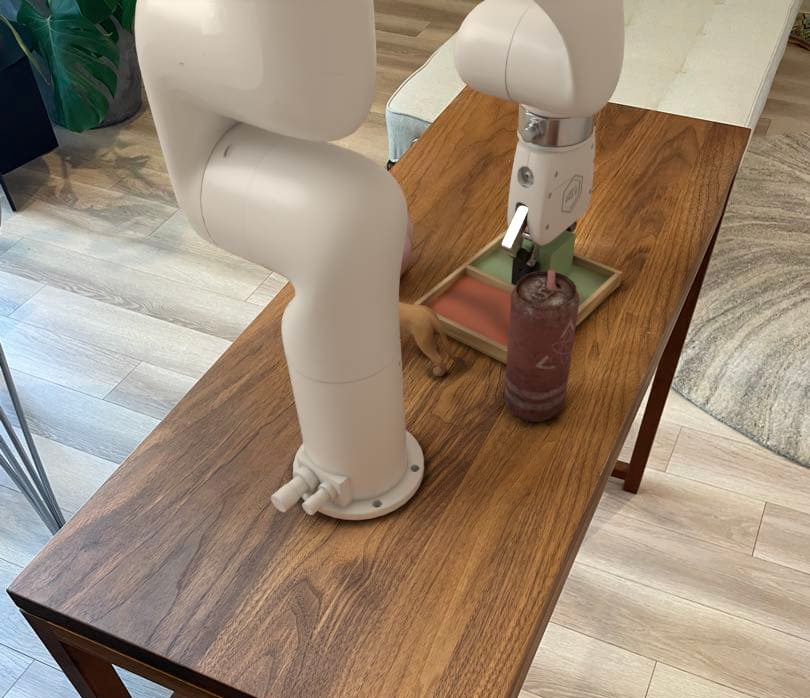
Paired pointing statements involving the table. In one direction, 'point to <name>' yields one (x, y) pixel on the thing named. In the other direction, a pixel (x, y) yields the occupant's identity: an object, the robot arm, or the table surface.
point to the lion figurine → (425, 333)
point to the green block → (555, 253)
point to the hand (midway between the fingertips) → (540, 273)
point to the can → (540, 344)
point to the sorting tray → (503, 297)
